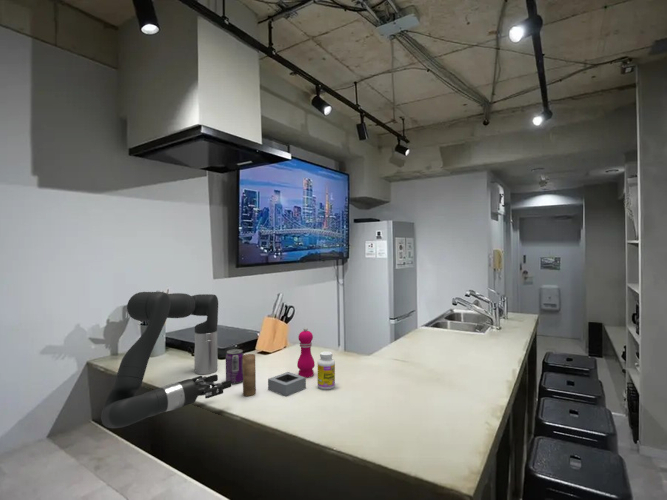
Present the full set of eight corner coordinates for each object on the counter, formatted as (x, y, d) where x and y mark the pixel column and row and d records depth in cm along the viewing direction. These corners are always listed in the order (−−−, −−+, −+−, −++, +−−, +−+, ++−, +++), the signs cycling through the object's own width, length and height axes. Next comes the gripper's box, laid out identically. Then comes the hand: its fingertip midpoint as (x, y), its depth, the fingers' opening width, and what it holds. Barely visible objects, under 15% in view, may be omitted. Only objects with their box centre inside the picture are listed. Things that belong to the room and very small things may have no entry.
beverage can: (247, 379, 147) (247, 350, 147) (236, 385, 140) (235, 354, 140) (234, 377, 150) (233, 348, 150) (222, 383, 143) (221, 352, 143)
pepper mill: (312, 378, 147) (311, 329, 147) (295, 377, 148) (294, 328, 148) (316, 372, 154) (316, 325, 154) (300, 371, 156) (299, 325, 155)
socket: (268, 389, 136) (268, 378, 136) (288, 381, 144) (288, 371, 144) (285, 396, 130) (285, 385, 130) (305, 388, 137) (305, 377, 137)
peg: (240, 394, 132) (240, 355, 132) (250, 390, 135) (250, 353, 135) (248, 397, 129) (247, 358, 129) (258, 393, 132) (257, 355, 132)
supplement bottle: (322, 391, 134) (321, 356, 134) (314, 385, 140) (314, 352, 140) (338, 388, 137) (337, 354, 137) (330, 382, 143) (329, 349, 143)
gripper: (188, 388, 107) (235, 373, 120) (167, 377, 117) (212, 364, 129) (189, 413, 107) (236, 396, 120) (167, 400, 117) (212, 386, 129)
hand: (223, 380), depth 124 cm, fingers open, 8 cm apart
